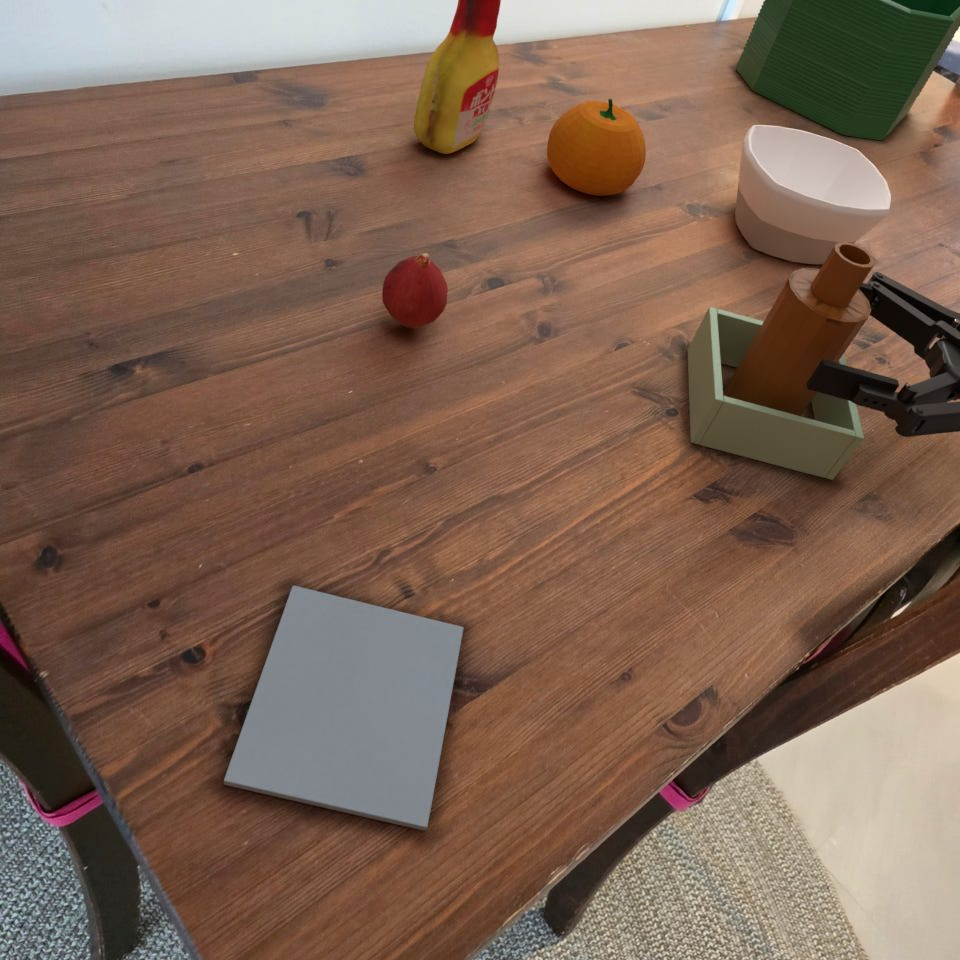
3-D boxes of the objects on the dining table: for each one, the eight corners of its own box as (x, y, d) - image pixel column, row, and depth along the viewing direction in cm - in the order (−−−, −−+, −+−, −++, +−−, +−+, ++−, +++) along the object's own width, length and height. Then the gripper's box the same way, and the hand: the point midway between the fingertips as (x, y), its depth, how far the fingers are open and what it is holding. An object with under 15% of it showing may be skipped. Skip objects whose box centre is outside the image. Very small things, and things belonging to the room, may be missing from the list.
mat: (425, 831, 52) (427, 827, 51) (223, 784, 51) (223, 780, 50) (462, 631, 61) (464, 626, 61) (292, 589, 60) (292, 584, 60)
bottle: (461, 117, 111) (498, -57, 96) (500, 141, 109) (544, -33, 94) (397, 141, 103) (427, -44, 89) (438, 167, 102) (475, -17, 87)
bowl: (725, 262, 102) (761, 189, 95) (703, 182, 114) (734, 112, 107) (866, 292, 104) (912, 223, 97) (830, 211, 116) (868, 144, 109)
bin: (832, 480, 80) (864, 439, 76) (690, 442, 80) (715, 399, 76) (814, 384, 90) (842, 342, 86) (687, 349, 89) (709, 306, 85)
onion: (366, 328, 80) (377, 255, 74) (394, 297, 84) (407, 225, 78) (423, 355, 80) (439, 282, 74) (449, 322, 83) (466, 251, 78)
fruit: (543, 197, 102) (568, 115, 95) (536, 146, 110) (558, 66, 103) (639, 215, 105) (670, 136, 97) (625, 164, 112) (653, 87, 105)
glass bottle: (795, 447, 82) (905, 291, 69) (722, 427, 82) (818, 267, 69) (788, 396, 87) (888, 242, 74) (718, 378, 87) (807, 219, 74)
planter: (778, 41, 155) (830, -74, 142) (915, 105, 149) (983, -8, 136) (722, 76, 139) (775, -50, 126) (874, 151, 132) (946, 26, 119)
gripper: (1044, 519, 73) (800, 453, 71) (972, 335, 90) (774, 279, 88) (1111, 457, 67) (848, 385, 66) (1021, 274, 84) (810, 214, 83)
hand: (805, 324), depth 77 cm, fingers open, 13 cm apart
